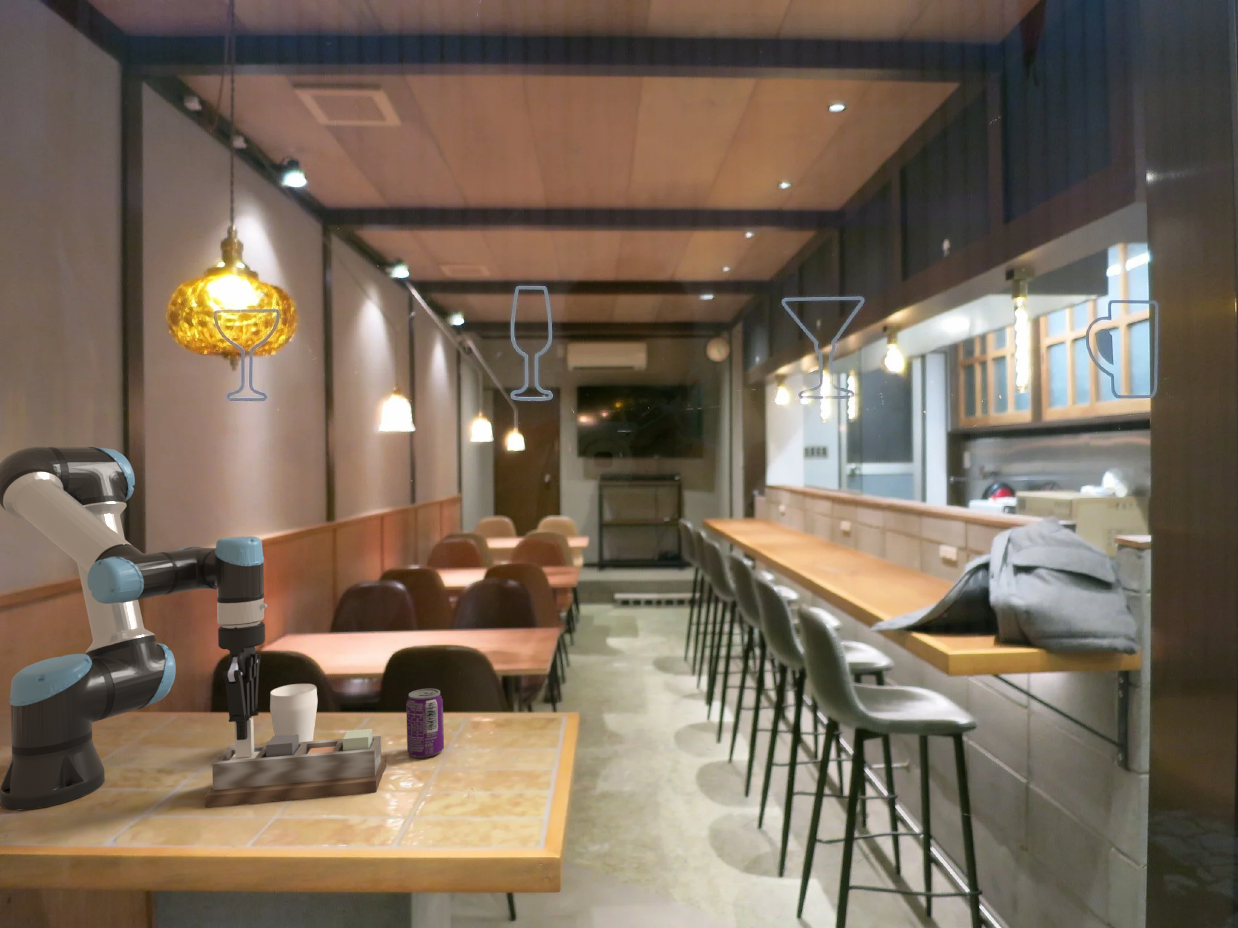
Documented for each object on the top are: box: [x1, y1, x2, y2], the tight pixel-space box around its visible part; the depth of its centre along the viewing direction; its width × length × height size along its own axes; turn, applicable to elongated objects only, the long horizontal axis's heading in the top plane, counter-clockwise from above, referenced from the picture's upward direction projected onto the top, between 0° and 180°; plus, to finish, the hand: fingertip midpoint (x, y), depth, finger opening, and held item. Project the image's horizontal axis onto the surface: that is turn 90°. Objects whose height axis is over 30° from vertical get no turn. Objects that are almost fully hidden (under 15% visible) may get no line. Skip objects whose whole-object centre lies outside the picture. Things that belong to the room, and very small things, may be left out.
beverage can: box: [405, 688, 445, 759], centre depth 151 cm, size 7×7×12 cm
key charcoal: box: [265, 734, 299, 757], centre depth 136 cm, size 4×4×3 cm
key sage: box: [342, 728, 373, 751], centre depth 138 cm, size 4×4×3 cm
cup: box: [269, 683, 319, 742], centre depth 155 cm, size 9×9×12 cm
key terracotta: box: [308, 746, 335, 754], centre depth 137 cm, size 4×4×3 cm
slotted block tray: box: [204, 735, 387, 808], centre depth 136 cm, size 28×12×6 cm, turn 99°
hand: (244, 755), depth 135 cm, fingers closed
